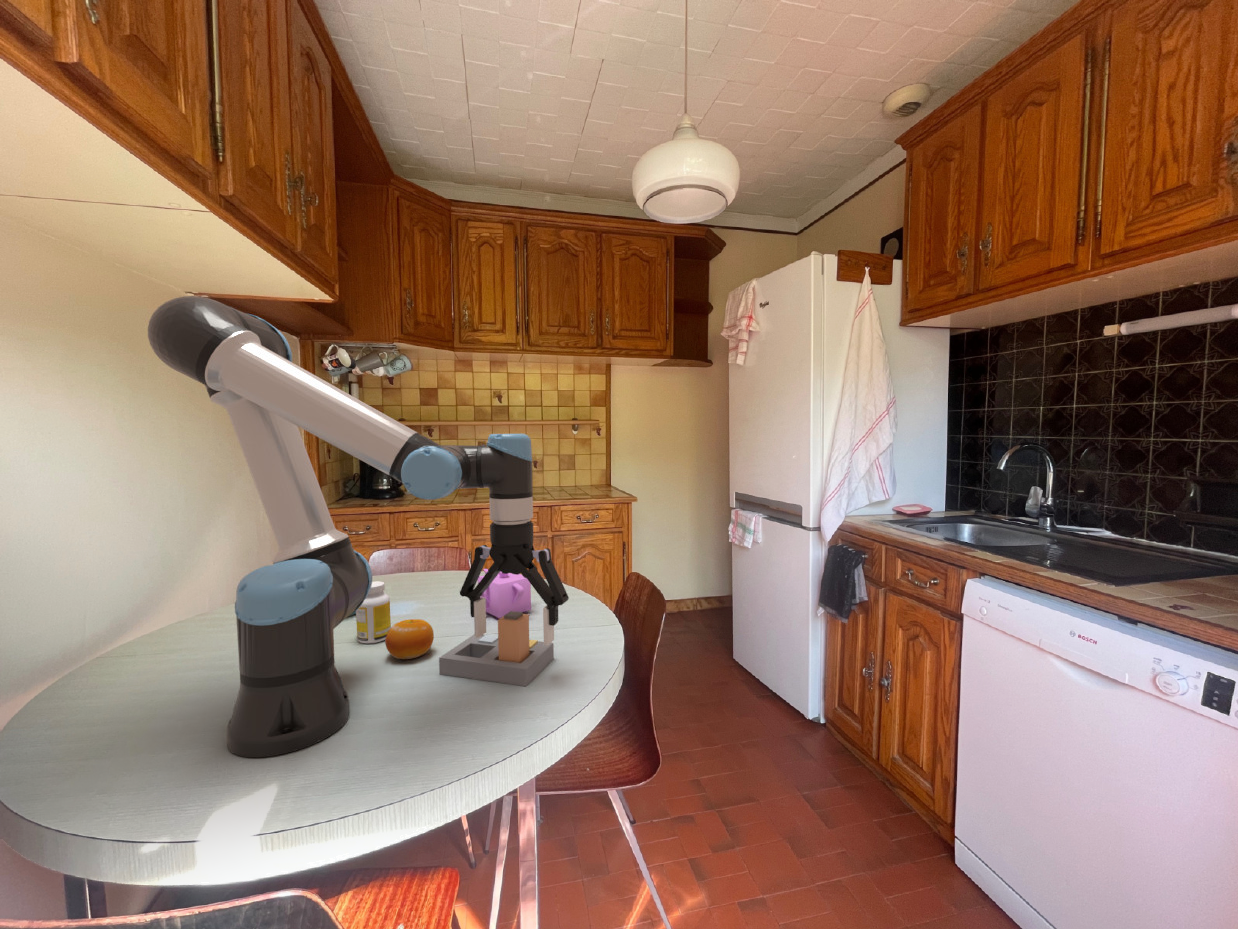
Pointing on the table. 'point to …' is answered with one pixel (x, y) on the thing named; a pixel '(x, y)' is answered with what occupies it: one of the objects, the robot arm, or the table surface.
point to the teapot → (507, 594)
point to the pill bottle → (374, 615)
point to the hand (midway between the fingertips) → (514, 638)
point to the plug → (513, 637)
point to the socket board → (494, 661)
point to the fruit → (409, 638)
